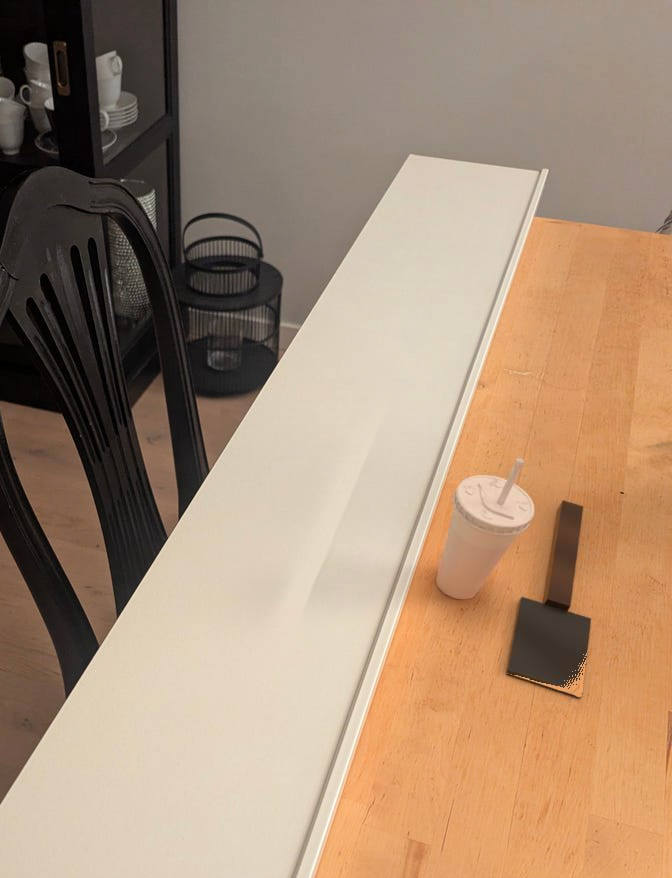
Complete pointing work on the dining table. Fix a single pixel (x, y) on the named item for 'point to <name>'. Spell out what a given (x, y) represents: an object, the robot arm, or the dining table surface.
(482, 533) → the smoothie
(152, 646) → the dining table surface
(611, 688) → the dining table surface
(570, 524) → the spatula
